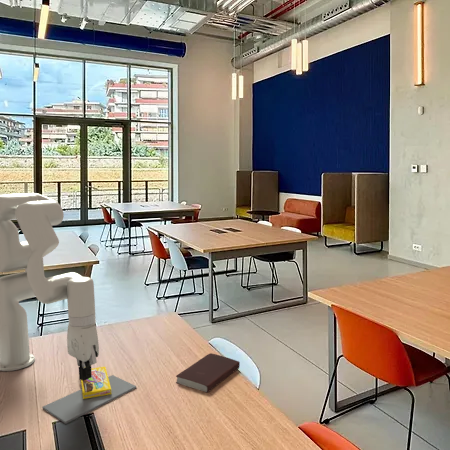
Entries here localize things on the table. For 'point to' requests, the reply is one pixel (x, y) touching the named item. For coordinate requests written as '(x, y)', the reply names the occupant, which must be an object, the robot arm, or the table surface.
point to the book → (208, 372)
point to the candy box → (96, 384)
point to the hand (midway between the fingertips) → (85, 378)
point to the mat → (86, 401)
